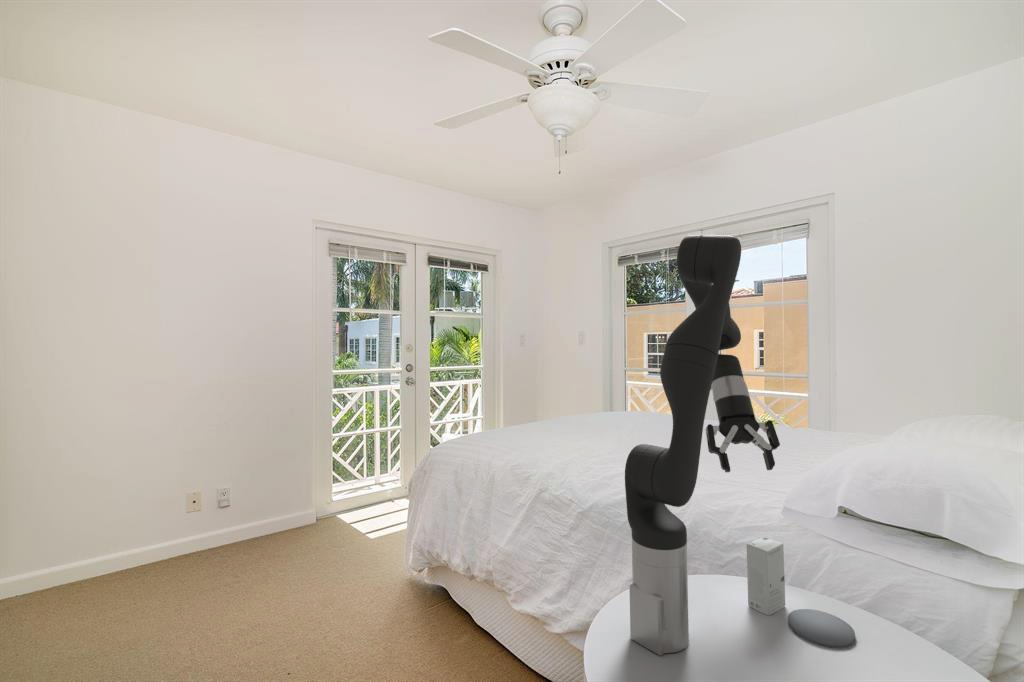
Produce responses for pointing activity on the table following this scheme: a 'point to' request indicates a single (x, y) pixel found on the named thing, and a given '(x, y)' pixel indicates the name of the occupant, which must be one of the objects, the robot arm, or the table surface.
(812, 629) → the coaster mat
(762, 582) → the skincare box
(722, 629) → the table surface
